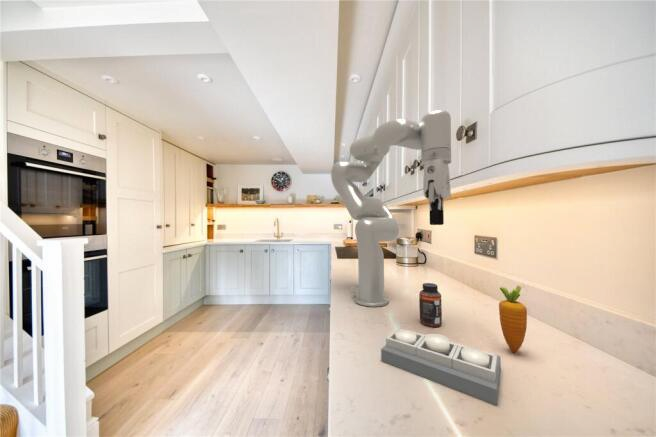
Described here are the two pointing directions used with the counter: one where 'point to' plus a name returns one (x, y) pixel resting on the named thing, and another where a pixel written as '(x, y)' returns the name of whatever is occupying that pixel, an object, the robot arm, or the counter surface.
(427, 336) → the button middle
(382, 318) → the counter surface
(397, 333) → the button left
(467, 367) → the panel
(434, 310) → the supplement bottle
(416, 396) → the counter surface
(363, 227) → the robot arm
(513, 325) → the carrot
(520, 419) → the counter surface
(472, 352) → the button right
